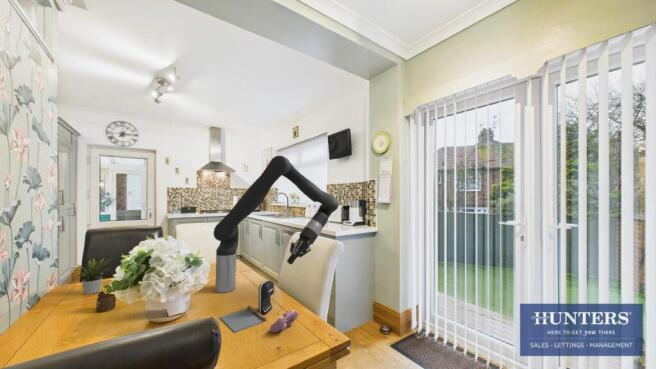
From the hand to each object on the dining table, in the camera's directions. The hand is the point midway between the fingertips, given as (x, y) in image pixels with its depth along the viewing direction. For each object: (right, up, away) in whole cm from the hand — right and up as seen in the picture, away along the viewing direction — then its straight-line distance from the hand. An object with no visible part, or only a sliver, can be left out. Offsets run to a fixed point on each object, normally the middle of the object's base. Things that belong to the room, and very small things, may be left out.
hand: (289, 263), depth 109 cm
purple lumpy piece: (+2, -17, -21) cm, 26 cm away
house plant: (-93, -18, +11) cm, 96 cm away
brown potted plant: (-73, -17, -7) cm, 75 cm away
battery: (-8, -17, -8) cm, 20 cm away
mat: (-15, -16, -15) cm, 27 cm away
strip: (-11, -17, -11) cm, 23 cm away
